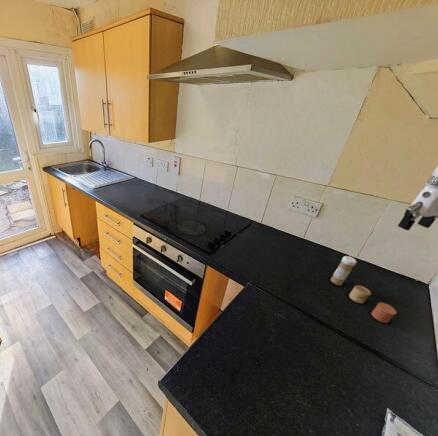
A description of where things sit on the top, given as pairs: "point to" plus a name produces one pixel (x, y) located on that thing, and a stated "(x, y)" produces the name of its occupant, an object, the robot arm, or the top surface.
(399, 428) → the top surface
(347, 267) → the sprinkles bottle
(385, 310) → the orange-brown short cylinder
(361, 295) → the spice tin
